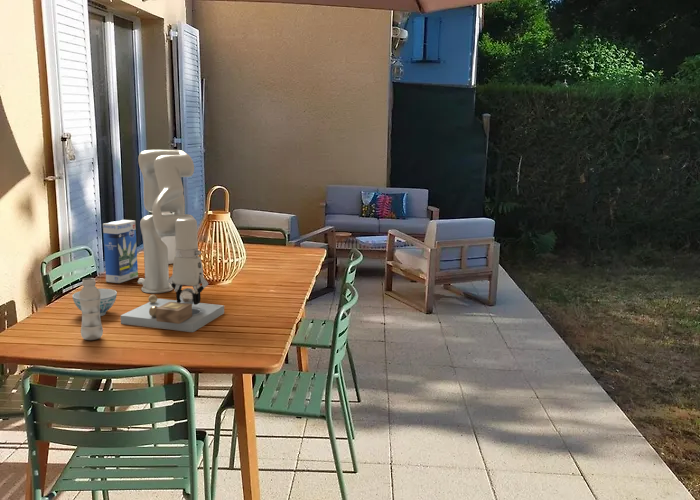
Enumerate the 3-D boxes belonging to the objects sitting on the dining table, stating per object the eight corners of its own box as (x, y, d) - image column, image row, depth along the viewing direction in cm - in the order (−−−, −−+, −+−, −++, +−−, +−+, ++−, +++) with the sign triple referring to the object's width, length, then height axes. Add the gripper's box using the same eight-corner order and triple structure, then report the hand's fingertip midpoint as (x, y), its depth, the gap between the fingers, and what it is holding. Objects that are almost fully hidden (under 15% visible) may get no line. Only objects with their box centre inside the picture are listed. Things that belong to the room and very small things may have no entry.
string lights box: (119, 283, 277) (116, 224, 272) (105, 282, 279) (101, 223, 274) (138, 276, 289) (136, 220, 284) (124, 275, 291) (121, 219, 286)
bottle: (147, 260, 323) (145, 204, 317) (175, 258, 329) (173, 203, 323) (151, 266, 310) (149, 208, 305) (180, 263, 316) (178, 207, 311)
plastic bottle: (84, 335, 211) (80, 276, 207) (106, 335, 211) (102, 276, 207) (78, 342, 205) (74, 281, 201) (100, 342, 205) (96, 281, 201)
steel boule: (176, 306, 226) (175, 289, 225) (185, 301, 232) (184, 285, 231) (191, 307, 225) (191, 291, 223) (200, 303, 230) (199, 287, 229)
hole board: (120, 323, 224) (120, 315, 223) (157, 305, 246) (157, 298, 245) (192, 332, 216) (192, 323, 216) (224, 313, 238) (224, 305, 238)
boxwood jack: (146, 303, 238) (146, 295, 237) (151, 301, 241) (151, 293, 240) (154, 304, 237) (154, 296, 236) (159, 302, 240) (158, 294, 239)
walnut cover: (156, 321, 217) (155, 307, 216) (170, 314, 225) (169, 301, 224) (179, 323, 215) (178, 310, 214) (192, 316, 223) (191, 303, 222)
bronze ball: (146, 317, 221) (146, 307, 220) (153, 314, 225) (152, 304, 224) (156, 319, 220) (156, 308, 219) (162, 315, 224) (162, 305, 223)
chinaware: (75, 322, 224) (74, 301, 223) (72, 311, 237) (70, 291, 236) (120, 317, 231) (119, 296, 229) (114, 306, 244) (113, 286, 242)
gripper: (214, 252, 226) (215, 302, 229) (170, 249, 230) (172, 297, 234) (203, 257, 219) (205, 308, 222) (159, 253, 223) (161, 303, 227)
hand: (188, 302), depth 228 cm, fingers closed on steel boule, 6 cm apart
